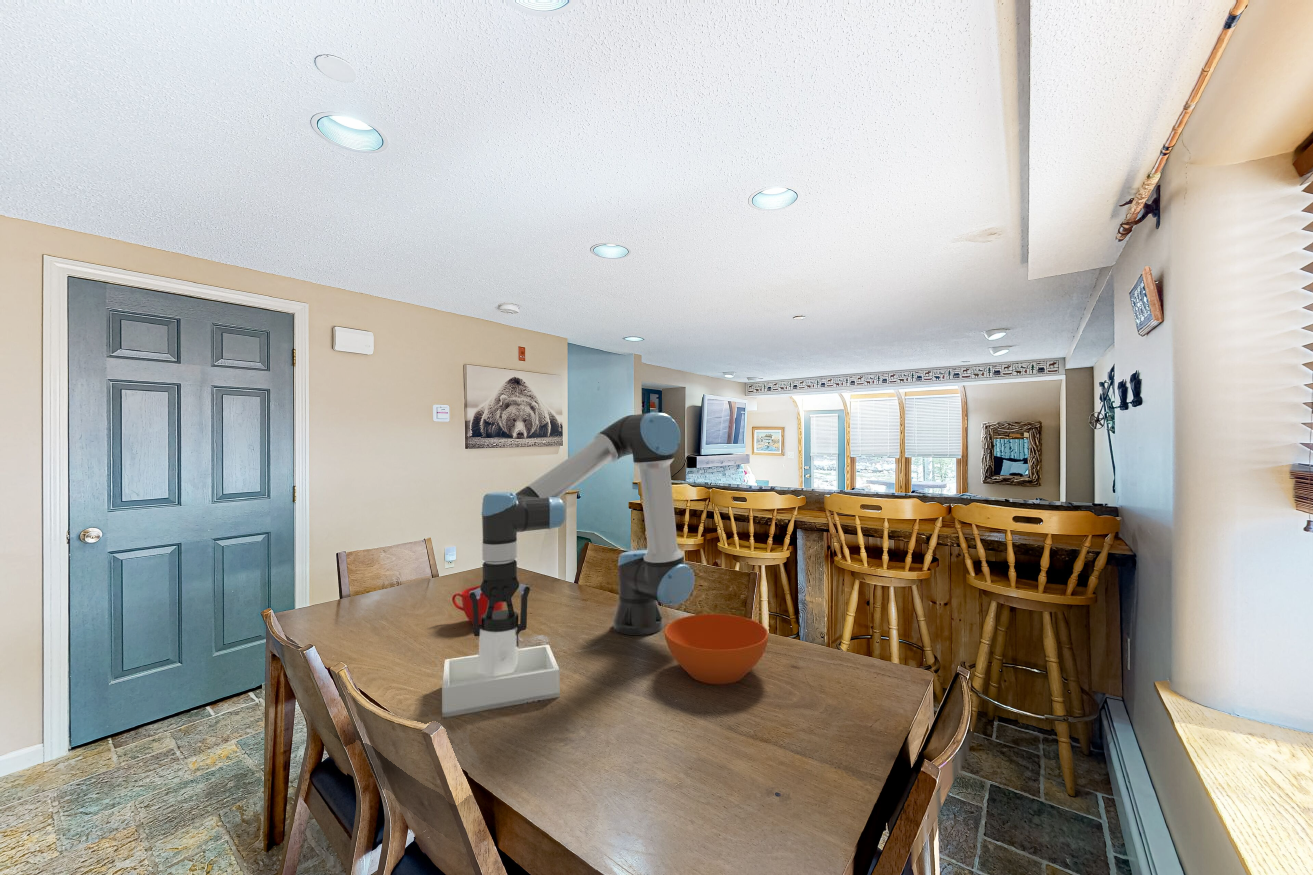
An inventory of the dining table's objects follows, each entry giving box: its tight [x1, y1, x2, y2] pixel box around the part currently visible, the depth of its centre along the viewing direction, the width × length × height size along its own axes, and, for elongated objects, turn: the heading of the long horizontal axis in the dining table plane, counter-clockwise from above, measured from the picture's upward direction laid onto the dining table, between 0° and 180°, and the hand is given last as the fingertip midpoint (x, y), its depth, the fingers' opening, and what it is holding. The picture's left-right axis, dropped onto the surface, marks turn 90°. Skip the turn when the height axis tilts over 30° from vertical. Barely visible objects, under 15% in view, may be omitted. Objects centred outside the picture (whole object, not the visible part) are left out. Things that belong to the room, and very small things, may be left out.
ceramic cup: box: [451, 585, 505, 625], centre depth 165 cm, size 13×17×10 cm
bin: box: [441, 644, 561, 719], centre depth 117 cm, size 24×16×6 cm, turn 110°
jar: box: [478, 609, 520, 676], centre depth 117 cm, size 9×8×12 cm
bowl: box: [664, 613, 769, 685], centre depth 126 cm, size 25×25×10 cm
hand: (500, 663), depth 118 cm, fingers closed on jar, 4 cm apart
